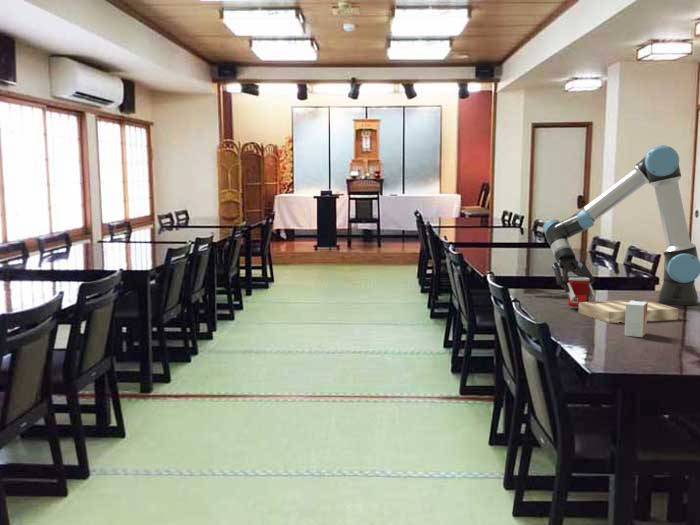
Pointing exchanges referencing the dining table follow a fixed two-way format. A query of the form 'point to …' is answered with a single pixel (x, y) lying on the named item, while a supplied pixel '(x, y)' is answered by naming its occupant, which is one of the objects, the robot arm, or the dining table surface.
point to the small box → (636, 318)
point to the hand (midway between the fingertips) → (583, 297)
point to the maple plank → (617, 310)
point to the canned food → (579, 290)
